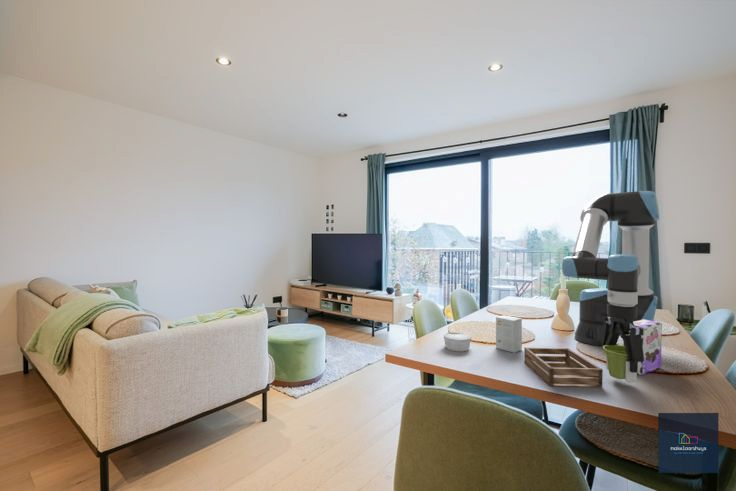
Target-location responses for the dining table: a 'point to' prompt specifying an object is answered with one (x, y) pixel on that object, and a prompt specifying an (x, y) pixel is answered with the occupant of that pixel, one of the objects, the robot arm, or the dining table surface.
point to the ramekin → (457, 341)
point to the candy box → (650, 345)
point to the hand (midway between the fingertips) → (620, 375)
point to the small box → (509, 333)
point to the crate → (563, 368)
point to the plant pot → (616, 360)
